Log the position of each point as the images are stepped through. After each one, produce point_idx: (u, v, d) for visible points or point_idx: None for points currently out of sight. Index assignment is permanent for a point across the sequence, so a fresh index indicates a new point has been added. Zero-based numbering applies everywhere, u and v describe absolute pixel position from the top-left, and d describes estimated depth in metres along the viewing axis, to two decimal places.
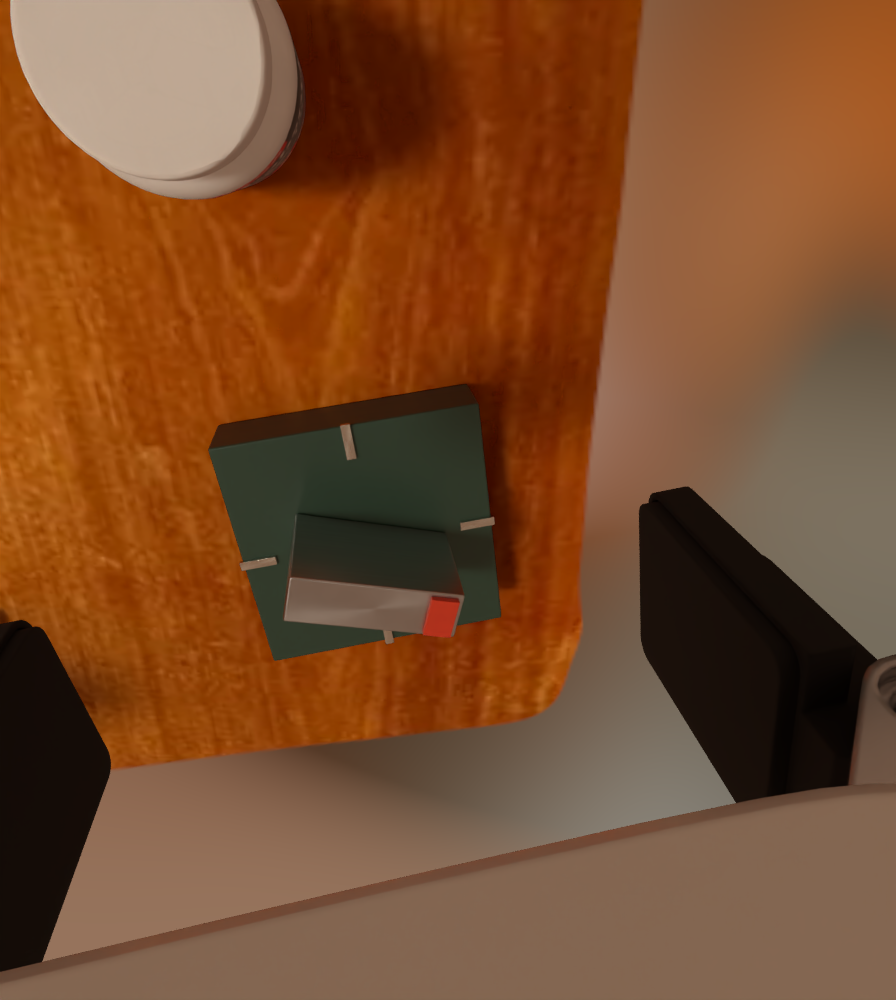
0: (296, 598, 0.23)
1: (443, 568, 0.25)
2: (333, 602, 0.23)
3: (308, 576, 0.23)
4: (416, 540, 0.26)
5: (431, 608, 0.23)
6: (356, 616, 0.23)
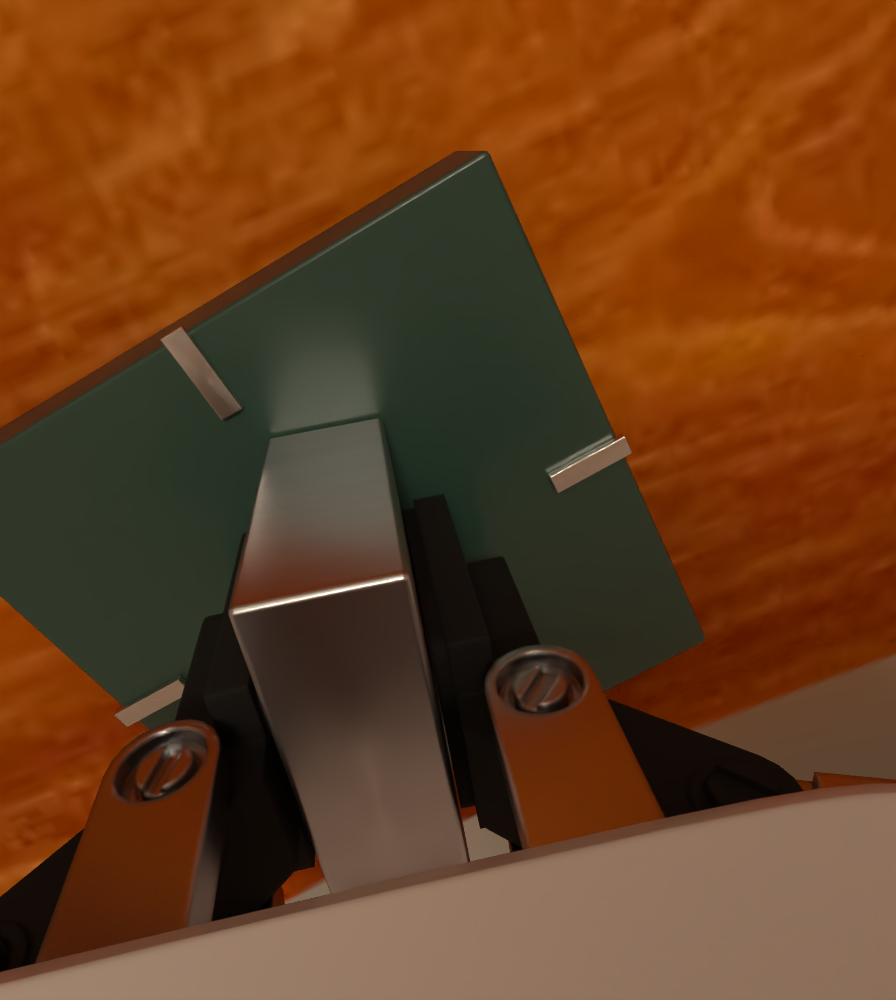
0: (338, 617, 0.07)
1: None
2: (360, 708, 0.07)
3: (418, 615, 0.07)
4: None
5: None
6: (333, 775, 0.08)
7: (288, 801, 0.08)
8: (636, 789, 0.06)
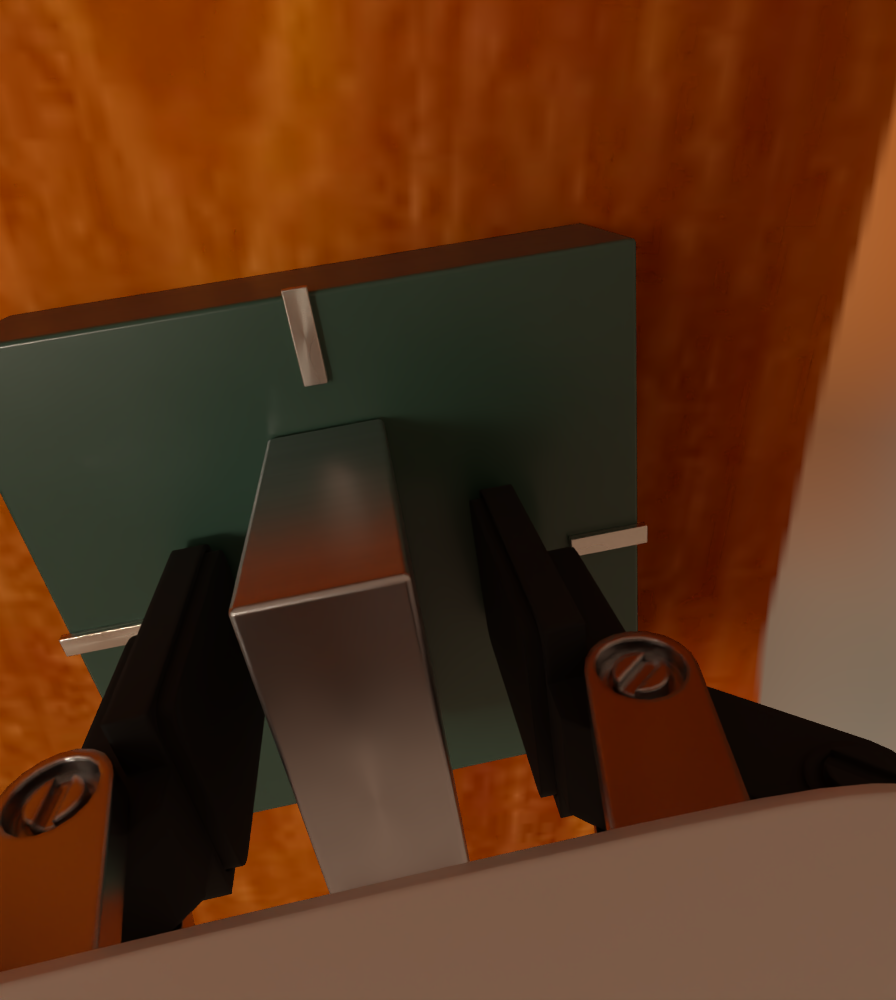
0: (339, 618, 0.07)
1: None
2: (360, 710, 0.07)
3: (419, 616, 0.07)
4: (435, 685, 0.12)
5: None
6: (334, 776, 0.08)
7: (197, 829, 0.08)
8: (730, 786, 0.06)
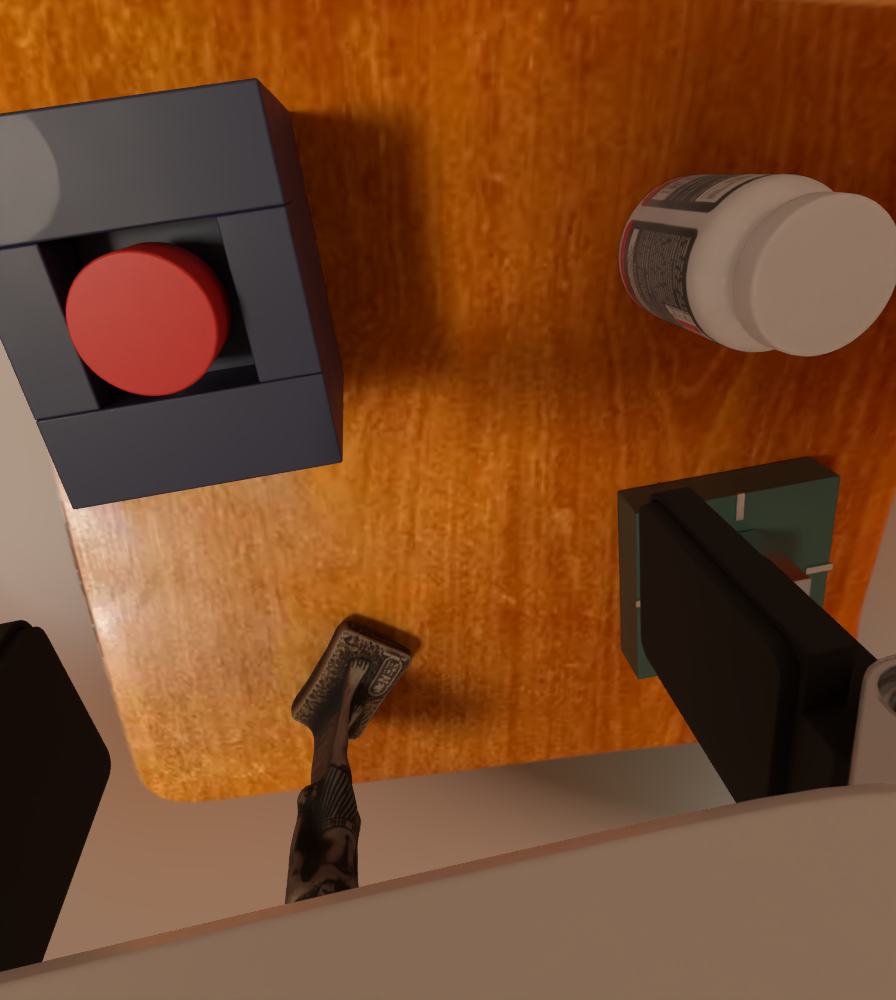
0: None
1: None
2: None
3: (809, 588, 0.29)
4: None
5: None
6: None
7: None
8: None
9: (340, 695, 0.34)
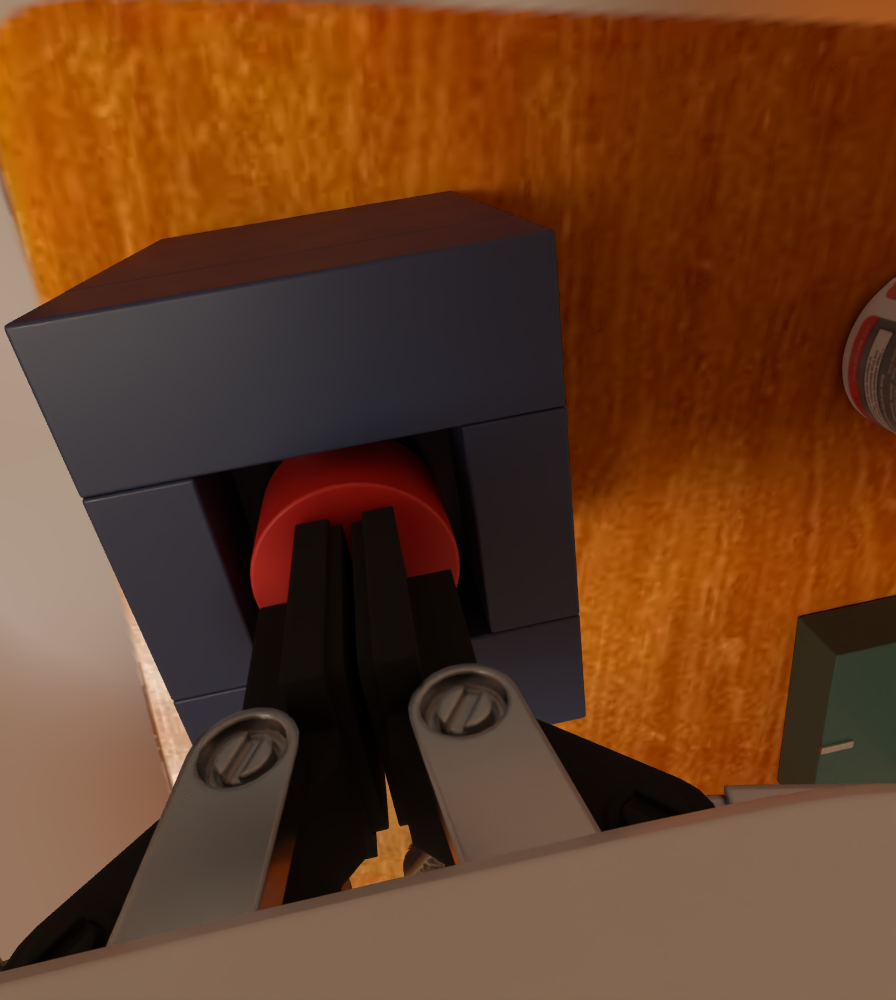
0: None
1: None
2: None
3: None
4: None
5: None
6: None
7: (356, 790, 0.08)
8: (568, 802, 0.06)
9: None
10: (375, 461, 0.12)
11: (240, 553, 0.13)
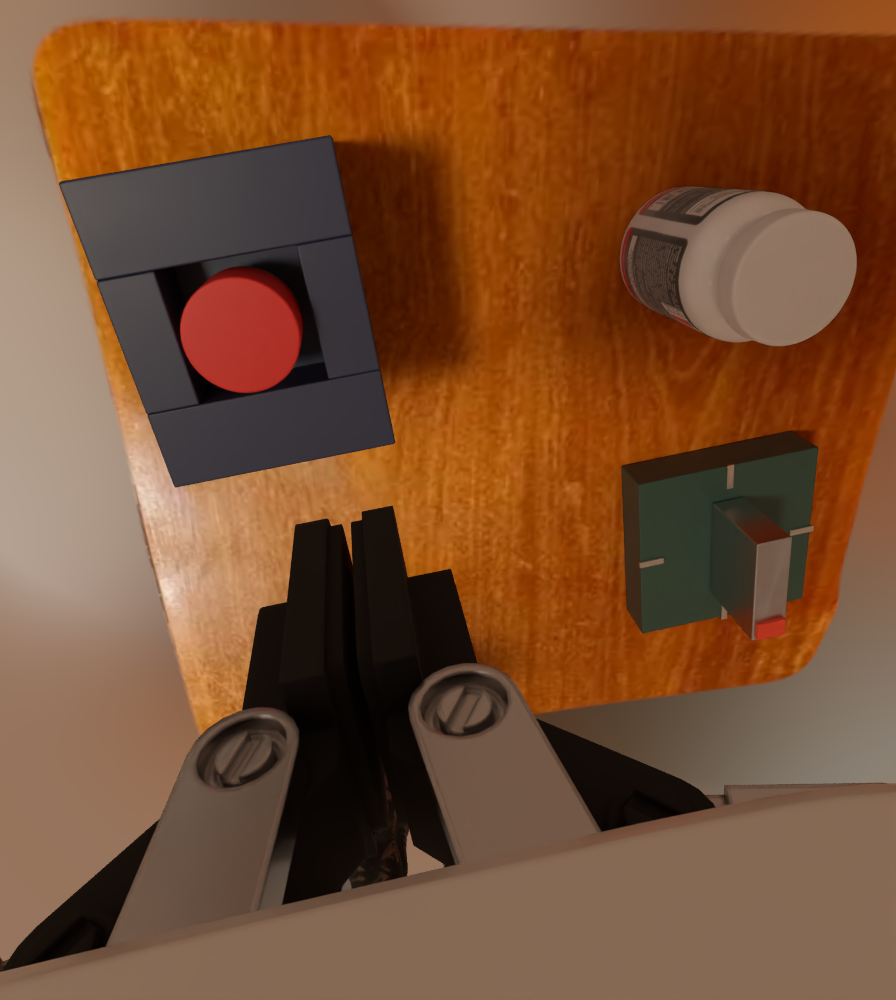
0: (777, 546, 0.33)
1: None
2: (775, 566, 0.34)
3: (790, 545, 0.33)
4: None
5: (779, 621, 0.35)
6: (765, 583, 0.34)
7: (356, 790, 0.08)
8: (568, 801, 0.06)
9: None
10: (251, 273, 0.21)
11: None
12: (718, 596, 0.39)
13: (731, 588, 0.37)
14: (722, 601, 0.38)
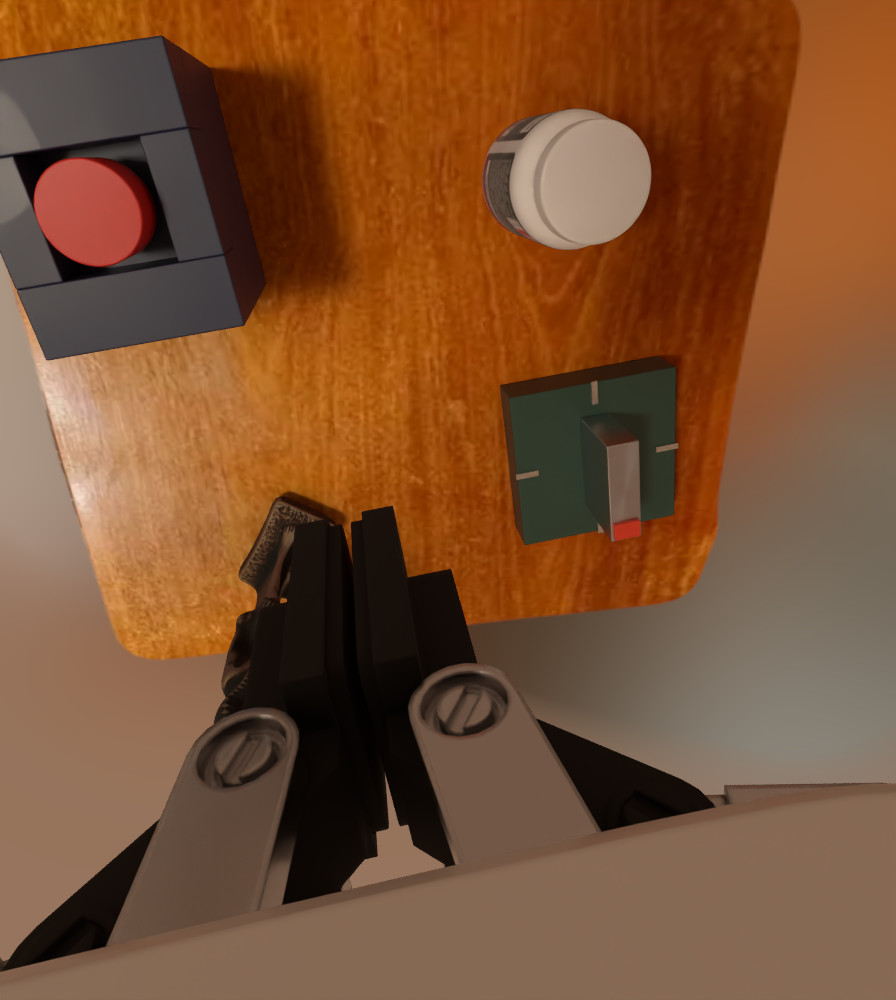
0: (625, 448, 0.36)
1: None
2: (625, 469, 0.37)
3: (638, 449, 0.37)
4: None
5: (634, 522, 0.38)
6: (617, 485, 0.37)
7: (356, 790, 0.08)
8: (568, 802, 0.06)
9: (277, 556, 0.42)
10: (99, 159, 0.24)
11: None
12: (590, 508, 0.42)
13: (596, 495, 0.40)
14: (592, 511, 0.42)
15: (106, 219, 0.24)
